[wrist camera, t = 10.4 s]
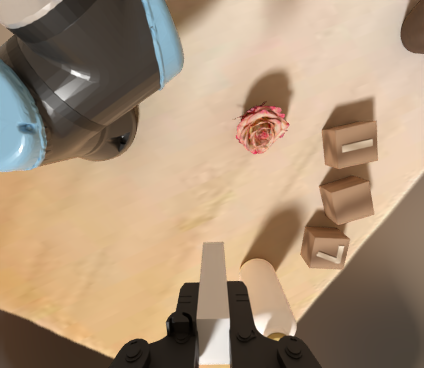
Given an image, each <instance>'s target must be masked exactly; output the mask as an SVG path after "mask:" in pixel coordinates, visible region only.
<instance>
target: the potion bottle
mask: <svg viewBox="0 0 424 368" xmlns="http://www.w3.org/2000/svg"><path fill="white" fill-rule="evenodd" d="M239 279H240V281H243V283H244V284H245V285H246V286H247V290H248V295H249V299H250V304H251V309H252V314H253V319H254V324H255V326H256V328H257V330H258V331H259V332H260V333H261V334H262V335H264V336H265V337H267V338H270V339H273V340H276V341H279V340H280V338H282V337H283V336H288V335H291V336H294V334H295V332H296V320H295V317H294V315H293V312H292V310H291V308H290V305H289V303H288V301H287V298H286V296H285V294H284V291H283V289H282V286H281V284H280V282H279V279H278V277H277V275H276V272H275V270H274V268H273V266H272V265H271V264H270V263H269V262H268V261H266V260H264V259H259V258H258V259H251V260H249V261H247V262H246V263H244V264H243V266H242V267H241V269H240V272H239Z"/></svg>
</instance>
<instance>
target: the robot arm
mask: <svg viewBox="0 0 424 368" xmlns="http://www.w3.org/2000/svg"><path fill="white" fill-rule="evenodd" d="M0 23H1V24H2V25H3V26H5V27H6V28H7V29H8V30H10V31H11V32H12V33H13V34H15V35H13V36H12V37H11V38H10V39H9V40H8V41H6V42H5V43H4V44H3V45H2V46H1V47H0V172H10V171H18V170H31V169H33V168H36V167H39V166H43V165H47V164H51V163H56V162H60V161H64V160H68V159H72V158H77V157H79V158H82V159H86V160H90V161H105V160H109V159H112V158H115V157H118V156H120V155H121V154H123V153H124V152H125V151H126V150H127V149H128V148H129V147H130V145H131V144H132V142H133V140H134V137H135V134H136V116H135V112H134V109H133V108H134V107H135V106H136V105H138V104H139V103H141V102H142V101H143V100H145V99H146V98H147V97H149V96H150V95H152V94H153V93H154V92H156V91H157V90H161V89H163V87H164V85H165V84H166V83H167V82H169V81H170V80H171V79H172V78H174V77H175V76H176V75H177V74H178V73H179V72H180V71H181V70H182V67H183V63H184V53H183V48H182V45H181V41H180V38H179V35H178V32H177V30H176V27H175V24H174V22H173V19H172V17H171V14H170V12H169V9H168V7H167V4H166V2H165V0H0ZM166 327H167V336H166V337H164V338H163V339H161V340H159V341H156V342H153V343H150V344H148V343H147V341H145V340H143V339H134V340H131V341H129V342H128V343H126V344H125V345H124V346H123V347H122V348H121V350H120V351H119V353H118V354H117V356H116V357H115V359H114V360H113V362H112V363H111V365H110V366H109V368H199V365H201V364H230V368H322V367H321V366H320V364H319V363H318V361H317V360H316V358H315V357H314V355H313V354H312V352H311V351H310V349H309V348H308V347H307V345H306V344H305V343H304V342H303V341H302V340H300V339H299V338H297V337H294V336H291V335H288V336H283V337H282V338H280V340H279V341H276V340H273V339H270V338H267V337H265V336H264V335H262V334H261V333H260V332H259V331H258V330H257V328H256V326H255V324H254V319H253V314H252V309H251V304H250V299H249V295H248V290H247V286H246V285H245V284H244V283H243V281H227V279H226V267H225V255H224V243H223V242H209V243H203V252H202V263H201V274H200V283H185V284H184V285H183V286H182V288H181V289H180V293H179V298H178V304H177V308H176V312H174V313H172V314H171V315H170V316H169V317H168V319H167V321H166Z"/></svg>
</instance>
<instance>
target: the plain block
mask: <svg viewBox="0 0 424 368" xmlns="http://www.w3.org/2000/svg"><path fill="white" fill-rule="evenodd" d="M319 188H320V193H321V197H322V201H323V206H324V210H325V215H326V216H327V217H328V218H330V219H331V220H332V221H333V222H335V223H336V224H337V225H341V224H344V223H348V222H351V221H354V220H358V219H361V218H364V217H368V216H371V215H374V209H373V203H372V197H371V191H370V185H369V181H367V180H364V179H361V178H358V177H355V176H350V177H346V178H343V179H340V180H337V181H334V182H331V183H327V184H324V185H321V186H319Z"/></svg>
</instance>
